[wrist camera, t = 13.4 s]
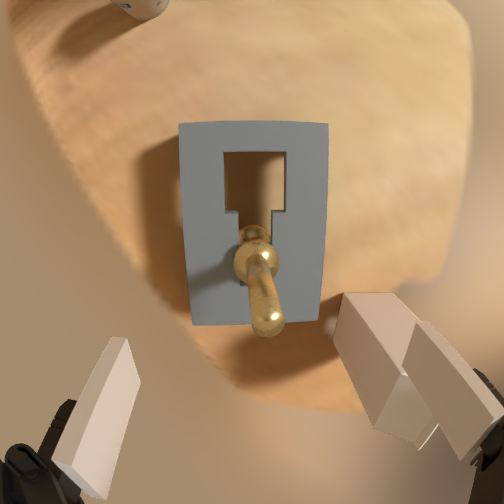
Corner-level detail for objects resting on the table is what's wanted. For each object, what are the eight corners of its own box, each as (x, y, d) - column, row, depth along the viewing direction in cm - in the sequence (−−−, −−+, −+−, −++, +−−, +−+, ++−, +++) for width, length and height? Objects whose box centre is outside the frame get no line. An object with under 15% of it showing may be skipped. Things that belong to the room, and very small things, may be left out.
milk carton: (331, 340, 36) (386, 460, 18) (342, 291, 33) (422, 407, 15) (378, 337, 36) (446, 440, 18) (392, 291, 34) (482, 387, 16)
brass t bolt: (232, 224, 29) (231, 294, 15) (271, 223, 29) (305, 291, 15) (234, 260, 30) (234, 352, 16) (270, 259, 30) (300, 348, 16)
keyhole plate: (189, 129, 27) (178, 123, 21) (310, 129, 27) (328, 123, 22) (199, 296, 32) (192, 325, 27) (304, 292, 33) (317, 320, 27)
